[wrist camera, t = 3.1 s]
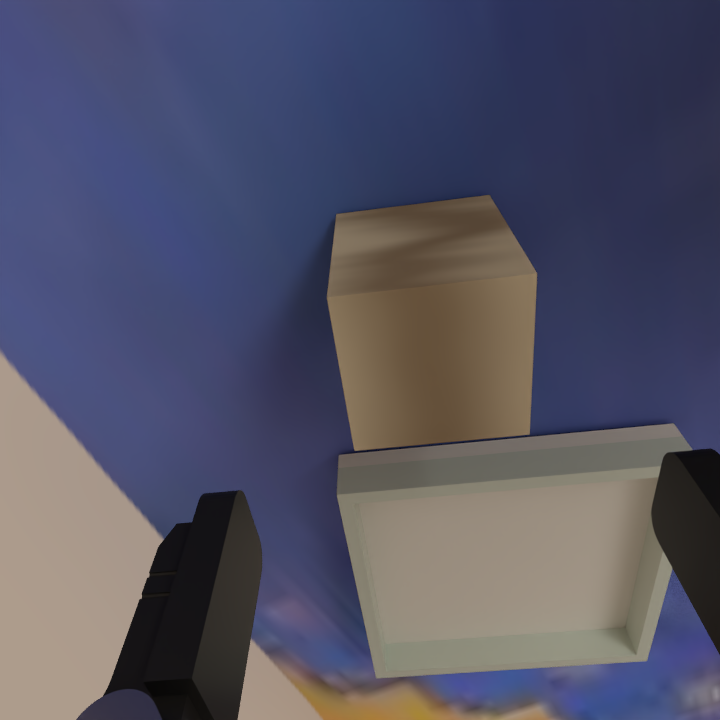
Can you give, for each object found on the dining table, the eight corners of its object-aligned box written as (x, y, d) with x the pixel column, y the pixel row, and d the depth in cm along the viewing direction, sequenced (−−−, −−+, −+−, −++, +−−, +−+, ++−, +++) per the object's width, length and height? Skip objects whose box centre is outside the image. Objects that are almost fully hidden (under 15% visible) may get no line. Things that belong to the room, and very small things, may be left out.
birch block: (489, 194, 18) (537, 273, 13) (489, 327, 21) (529, 434, 16) (336, 214, 19) (326, 297, 14) (356, 342, 21) (354, 450, 16)
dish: (673, 423, 23) (701, 462, 21) (629, 619, 31) (646, 660, 29) (338, 454, 24) (336, 494, 23) (375, 636, 32) (376, 678, 30)
